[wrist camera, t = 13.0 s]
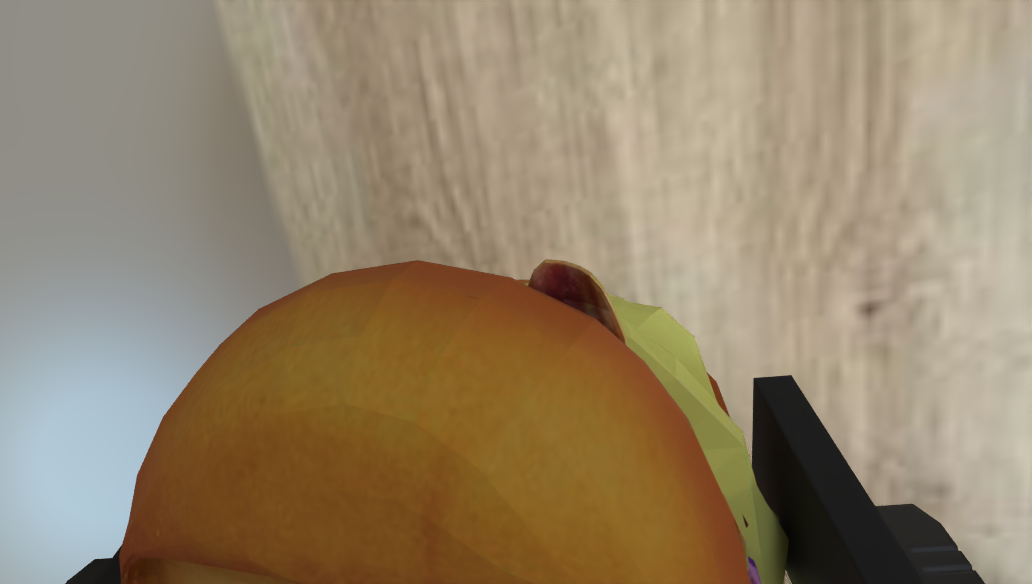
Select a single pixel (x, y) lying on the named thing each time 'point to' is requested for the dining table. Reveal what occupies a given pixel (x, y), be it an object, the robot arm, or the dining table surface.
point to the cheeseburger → (452, 444)
